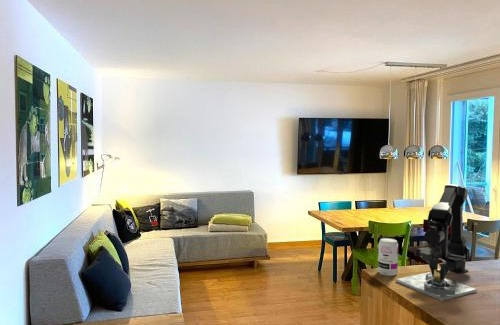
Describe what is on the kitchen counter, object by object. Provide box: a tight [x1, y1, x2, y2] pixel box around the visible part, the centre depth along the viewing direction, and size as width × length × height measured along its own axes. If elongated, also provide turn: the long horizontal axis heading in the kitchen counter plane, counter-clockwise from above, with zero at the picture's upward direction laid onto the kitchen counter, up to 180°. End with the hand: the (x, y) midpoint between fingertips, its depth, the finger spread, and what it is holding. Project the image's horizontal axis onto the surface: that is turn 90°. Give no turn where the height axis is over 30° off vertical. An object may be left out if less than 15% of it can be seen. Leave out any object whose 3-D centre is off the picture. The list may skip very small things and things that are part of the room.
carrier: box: [395, 271, 478, 302], centre depth 161 cm, size 20×22×4 cm
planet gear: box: [429, 267, 447, 287], centre depth 157 cm, size 6×6×6 cm
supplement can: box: [377, 237, 399, 277], centre depth 177 cm, size 8×8×15 cm
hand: (438, 278), depth 157 cm, fingers closed on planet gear, 3 cm apart
